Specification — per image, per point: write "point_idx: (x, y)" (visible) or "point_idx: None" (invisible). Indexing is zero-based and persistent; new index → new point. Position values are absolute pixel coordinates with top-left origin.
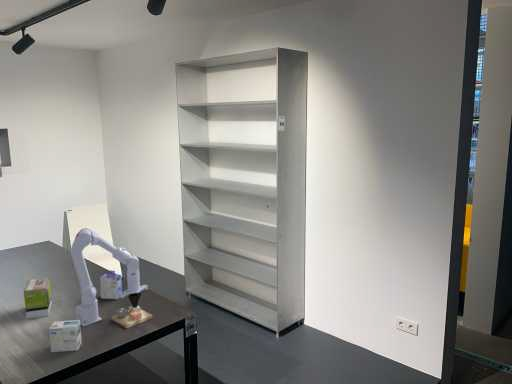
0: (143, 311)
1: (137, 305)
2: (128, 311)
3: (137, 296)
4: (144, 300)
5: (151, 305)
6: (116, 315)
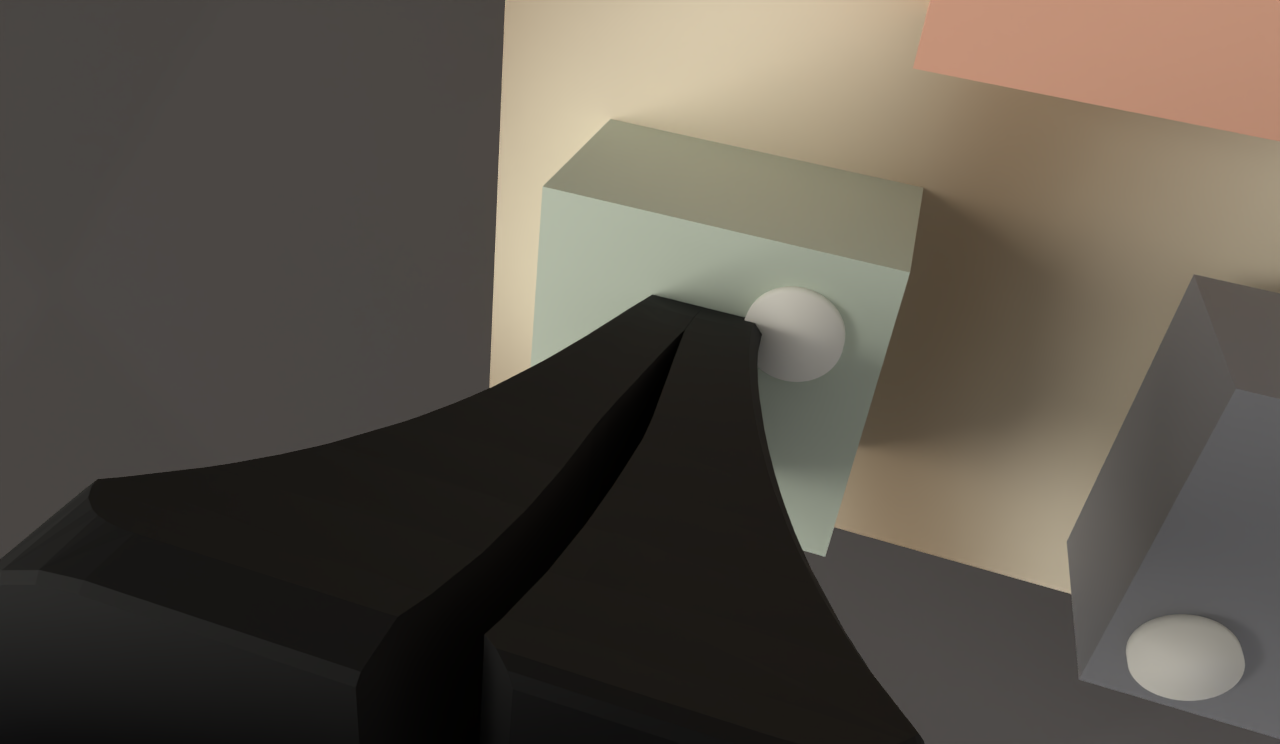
0: (545, 26)
1: None
2: None
3: (443, 579)
4: None
5: (109, 234)
6: None
